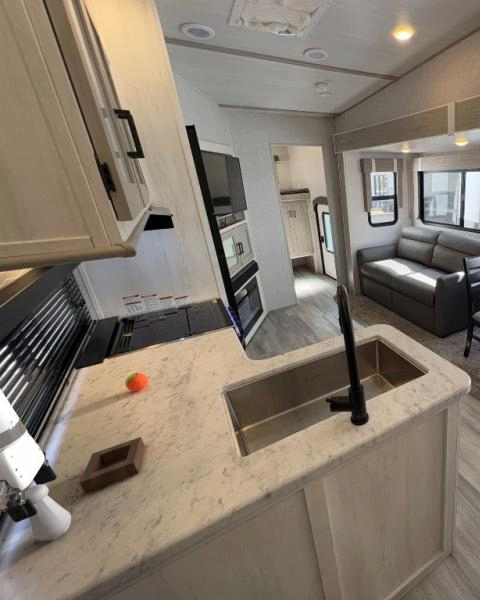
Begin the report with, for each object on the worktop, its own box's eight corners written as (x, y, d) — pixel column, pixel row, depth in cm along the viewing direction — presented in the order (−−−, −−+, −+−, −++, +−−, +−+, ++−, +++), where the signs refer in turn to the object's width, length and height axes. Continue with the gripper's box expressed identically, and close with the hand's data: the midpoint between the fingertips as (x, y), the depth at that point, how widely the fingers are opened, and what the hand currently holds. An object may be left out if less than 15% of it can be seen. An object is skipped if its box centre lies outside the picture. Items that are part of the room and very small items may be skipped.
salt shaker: (78, 526, 71) (53, 486, 67) (43, 551, 67) (13, 509, 62) (70, 514, 74) (45, 475, 70) (35, 537, 69) (7, 496, 65)
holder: (85, 493, 79) (79, 482, 78) (98, 464, 88) (92, 453, 87) (138, 473, 84) (133, 462, 83) (145, 446, 93) (140, 436, 92)
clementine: (139, 396, 118) (132, 380, 116) (121, 396, 119) (114, 381, 116) (155, 383, 126) (149, 368, 123) (138, 384, 126) (132, 369, 124)
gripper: (-7, 420, 66) (32, 478, 72) (-66, 479, 52) (-11, 545, 58) (41, 406, 70) (75, 462, 76) (-2, 458, 55) (44, 522, 61)
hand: (38, 498), depth 67 cm, fingers open, 9 cm apart
